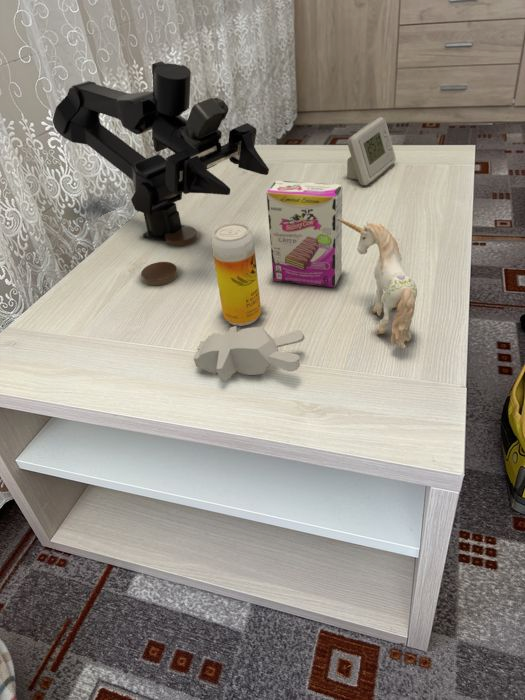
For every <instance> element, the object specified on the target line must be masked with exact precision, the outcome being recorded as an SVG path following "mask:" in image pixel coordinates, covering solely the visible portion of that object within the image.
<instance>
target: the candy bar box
mask: <svg viewBox="0 0 525 700" xmlns="http://www.w3.org/2000/svg"><path fill="white" fill-rule="evenodd" d="M266 205H267V215H268V218H267V219H268V229H269V242H270V253H271V256H270V257H271V267H272V278H273V282H283V283H290V284H300V285H308V286H317V287H325V288H334V289H335V288H336V286H337V283H338V281H339V280H340V278H341V275H342V255H343V253H342V251H343V250H342V249H343V248H342V247H343V245H342V244H343V242H342V241H343V240H342V238H343V223H342V222H340V221H338V220H337V219H336V218H340V219H342V220H343V184H338V183H336V184H335V183H321V182H320V183H319V182H317V183H316V182H306V181H305V182H303V181H291V180H290V181H289V180H275V181H273V184H272V185H271V186H270V187H269V188H268V189H267V191H266Z"/></svg>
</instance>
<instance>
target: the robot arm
mask: <svg viewBox="0 0 525 700" xmlns="http://www.w3.org/2000/svg"><path fill="white" fill-rule="evenodd" d="M151 74H152V91H140V92H134V93H132V92H131V93H128V92H126V91H125V92H124V91H121V90H118V89H115V88H111V87H107V86H103V85H100V84H97V83H96V82H94V81H91V80H87V81H84V82H81V83H77V84H74V85H72V86H71V87H69V89H68V91H67V94H66V95H65V96H64V98H63V99H62V100H61V101H60V102H59V103H58V105H56V106H55V110H54V114H53V116H52V124H53V128H54V129H55V131H56V132H57V133H58V134H59V135H60V136H61V137H62V138H63V139H66V140H67V141H69V142H71V143H74V144H81V145H87V146H88V147H89V148H91V149H92V150H94V151H95V152H96V153H97V154H98V155H100V156H101V157H102V158H103V159H105V160H106V161H108V162H109V164H111V165H113V167H115V168H117V169H118V170H119V171H120V172H121V173H123V174H124V175H125V176H126V177H128V178H129V179H130V180H131V181H132V184H133V189H134V193H133V195H132V197H131V199H130V201H131V204H132V206H133V208H134V210H135V211H137V212H140V213H142V214H143V217H144V222H145V226H146V230H147V231H146V232H144V233H143V234H142V236H143V238H147V239H152V240H157V241H161V242H166V239H165V234H166V233H170V234H171V233H176V232H177V231H178V230H180V229H181V228H182V227H183V226H185V225H184V224H182V221H181V216H180V212H179V211H178V208H177V204H176V203H177V202H179V201H181V200H182V199H183V194H184V195H187V194H207V195H208V194H209V195H221V196H223V195H224V196H229V195H230V194H231V188H230V187H229V186H228V185H227V184H226V183H225V182H223V180H221V179H220V178H218V177H217V176H216V175H214V173H212V172H210V171H209V169H211V168H214V167H215V166H217V165H219V164H220V163H222V162H224V161H226V160H229V161H230V162H231V163H232V164H234V165H237V167H238V168H239V169H243V170H245V171H249V172H252V173H256V174H259V175H264V176H268V175H269V173H270V172H269V171H270V168H269V167H268V165H267V164H266V163H265V161H264V160H263V158H262V157H261V155H260V154H259V152H258V151H257V149H256V147H255V145H256V137H257V131H258V130H257V128H256V127H255V126H253V125H252V124H249V123H248V122H246V123H243V124H242V125H238V126H236V127H233V128H232V129H231V130H229V132H228V141H227V143H225V144H223V145H222V143H221V142H220V140H221V139H222V133H223V132H222V131H221V130H220V129H219V128H220V126H221V124H222V122H223V120H225V119H226V117H227V115H228V113H229V106H228V104H226V102H225V100H223V99H220V98H218V97H214V98H213V97H209V98H207V99H205V100H202V101H199V102H196V103H195V104H194V105H193V106H192V108H191V110H190V111H189V114H188V117H187V118H185V117H183V116H182V114H183V113H185V112H186V111H188V110H189V109H190V99H191V81H192V80H191V77H192V72H191V70H190V68H188V67H187V66H186V65H184V64H181V65H180V64H177V63H165V62H164V61H162V60H161V61H158V62H154V63H152V64H151ZM101 114H102V115H105V116H108V117H111V118H114V119H117V120H119V121H120V122H121V126H122V127H123V128H124V129H126V130H127V131H130V132H131V133H133V134H135V135H141V134H144V133H147V132H149V131H151V139H152V144H153V145H152V146H153V149H154V151H155V153H159V152H162V151H164V150H165V149H168V150H170V151H171V152H173V154H171V155H169V156H167V157H166V158H165V157H164V156H162V155H160V154H155V155H152V156H150V157H148V158H146V157H145V156H144V155H142V154H141V153H140V152H138V151H137V150H136V149H134V148H133V147H132V146H130V145H129V144H128V143H126V142H125V141H124V140H123V139H121V138H120V137H119V136H117V135H116V134H115V133H113V132H112V131H110V130H109V129H108V128H107V127H105V126H104V125H103V124H102V123H101V119H100V115H101Z"/></svg>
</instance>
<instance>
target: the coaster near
mask: <svg viewBox="0 0 525 700" xmlns="http://www.w3.org/2000/svg"><path fill="white" fill-rule="evenodd" d="M140 276H141V279H142V282H143V283H144V284H145V285H147V286H154V287H157V286H163V285H167V284H170V283H171V282H173V281H174V280H176V278H177V277H178V269H177V266H176V264H175V263H172V262H170V261H158V262H154V263H151V264H149V265H147V266H145V267H144V268H143V269H142V270H141V273H140Z"/></svg>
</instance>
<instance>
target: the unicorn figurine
mask: <svg viewBox="0 0 525 700" xmlns="http://www.w3.org/2000/svg"><path fill="white" fill-rule="evenodd" d="M336 219H337V220H338V221H340V222H342V225H345V226H347V227H348V228H350V229H352V230H353V231H356V232H357V233H359V241H358V245H357V248H356V250H357V252H358V253H359V255H366V254H367V253H368V249H369V248H370V247H371V246H373V245H375V244H376V245H377V247H378V251H379V258H378V260H377V262H376V265H375V267H374V272H373V274H374V279H375V284H376V288H377V289H376V293H375V295H376V303H375V305H374V306H373V307H372V310H371V311H372V313H373V314H377V316H379V317H381V315H382V313H383V318H382V319H380V320H379V322H378V326H377V328H376V334H377V335H379V334H380V335H384V334H386V329H387V326H388V325H387V324H388V323H390V321H391V313H392V311H393V309H396V313H395V316H394V317H393V319H392V325H391V338H390V342H391V345H394V344H395V343H396V345H397V346H398V347H400V349H406V345H405V342H409V341H410V340H411V339H412V334H411V325H412V321H413V320H412V319H413V317H414V314H415V307H416V300H417V296H418V287H417V284H416V283H415V281H414V279H413V278H412V277H410V276H409V275H408V272H407V271H406V270H405V268H404V267H403V265H402V262H401V261H402V259H403V257H402V254H401V252H400V247H399V244H398V241H397V239H396V238H395V237H394V236H393V234H391V232H390V231H389V230H388V229H387V228H386V226H385V225H383V224H381V223H374V222H370V221H369V220H367V221H366V224H362V226H363V227H360V226H357V225H355V224H353V223H350V222H349V221H347V220H345V219H343V218H342V219H340V218H336ZM382 299H383V301H382Z"/></svg>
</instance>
